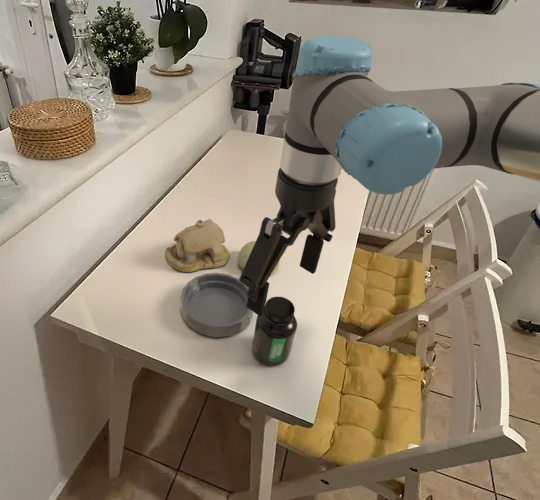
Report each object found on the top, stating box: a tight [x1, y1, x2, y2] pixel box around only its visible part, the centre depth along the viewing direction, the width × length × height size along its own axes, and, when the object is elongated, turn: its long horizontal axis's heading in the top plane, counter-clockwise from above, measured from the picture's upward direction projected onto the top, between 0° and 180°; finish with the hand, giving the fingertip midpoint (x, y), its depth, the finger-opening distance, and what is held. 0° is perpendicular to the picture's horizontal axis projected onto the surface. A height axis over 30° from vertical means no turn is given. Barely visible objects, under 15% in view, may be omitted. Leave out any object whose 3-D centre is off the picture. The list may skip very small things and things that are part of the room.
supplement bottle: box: [251, 295, 298, 367], centre depth 74 cm, size 7×7×12 cm
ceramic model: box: [164, 218, 231, 273], centre depth 95 cm, size 14×11×10 cm
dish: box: [180, 272, 254, 338], centre depth 85 cm, size 14×14×4 cm
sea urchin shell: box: [237, 240, 280, 272], centre depth 95 cm, size 9×8×8 cm
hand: (282, 288), depth 68 cm, fingers open, 13 cm apart
